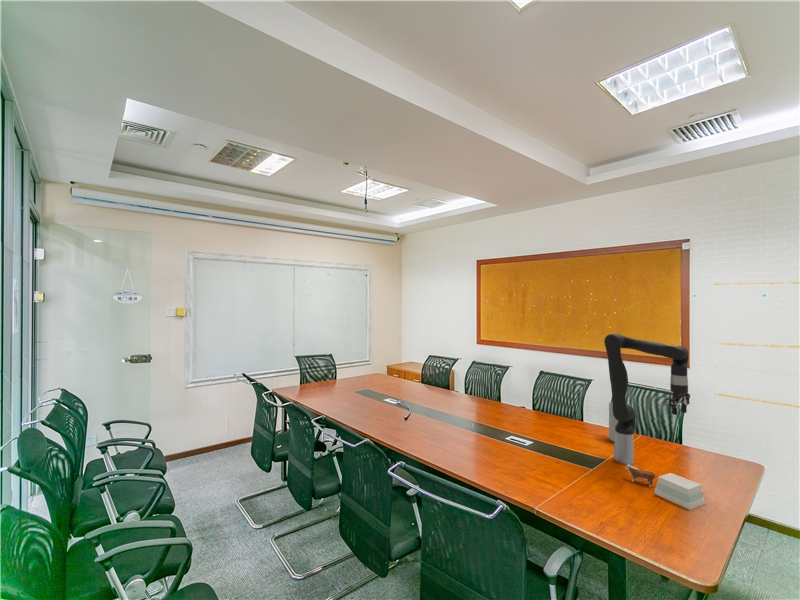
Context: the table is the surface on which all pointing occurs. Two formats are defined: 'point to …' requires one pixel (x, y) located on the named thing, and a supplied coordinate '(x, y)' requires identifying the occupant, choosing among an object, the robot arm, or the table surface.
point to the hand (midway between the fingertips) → (679, 413)
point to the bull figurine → (640, 474)
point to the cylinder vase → (612, 423)
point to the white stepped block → (680, 491)
